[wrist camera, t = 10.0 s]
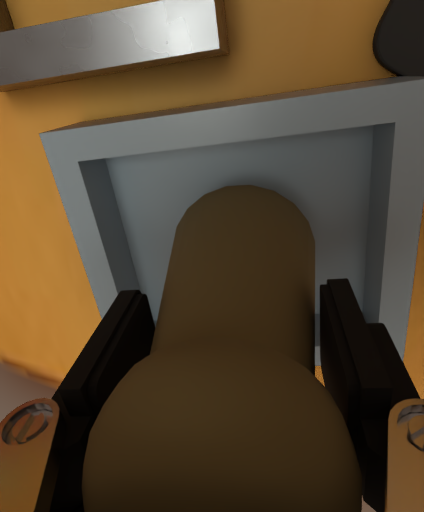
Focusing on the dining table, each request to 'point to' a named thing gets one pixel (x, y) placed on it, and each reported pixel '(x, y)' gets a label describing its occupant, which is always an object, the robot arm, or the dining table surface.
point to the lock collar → (110, 42)
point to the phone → (401, 38)
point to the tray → (258, 174)
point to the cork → (228, 378)
